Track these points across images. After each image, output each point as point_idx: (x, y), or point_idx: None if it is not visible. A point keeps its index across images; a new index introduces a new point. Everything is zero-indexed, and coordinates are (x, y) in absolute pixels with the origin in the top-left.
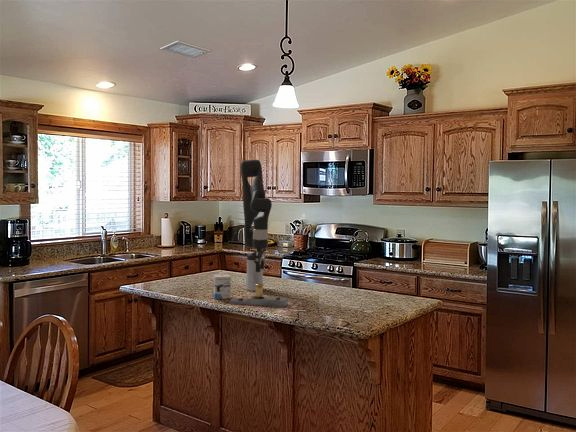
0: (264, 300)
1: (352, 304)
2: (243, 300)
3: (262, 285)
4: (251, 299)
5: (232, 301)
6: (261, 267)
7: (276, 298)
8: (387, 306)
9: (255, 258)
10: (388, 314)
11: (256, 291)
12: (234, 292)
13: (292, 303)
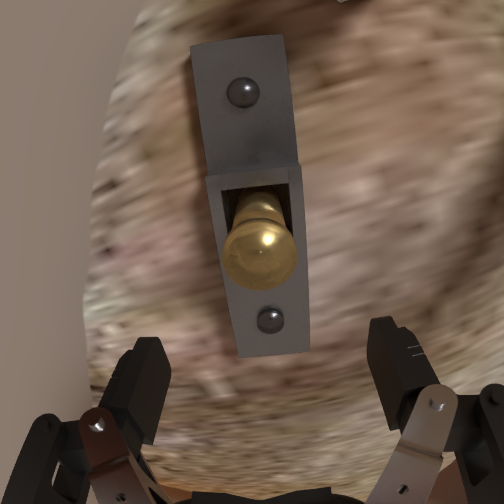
0: (220, 263)
1: (351, 453)
2: (230, 118)
3: (248, 285)
4: (207, 184)
5: (192, 61)
6: (374, 348)
7: (257, 320)
8: (342, 484)
9: (21, 477)
10: (266, 493)
11: (234, 224)
12: (479, 10)
13: (328, 341)
